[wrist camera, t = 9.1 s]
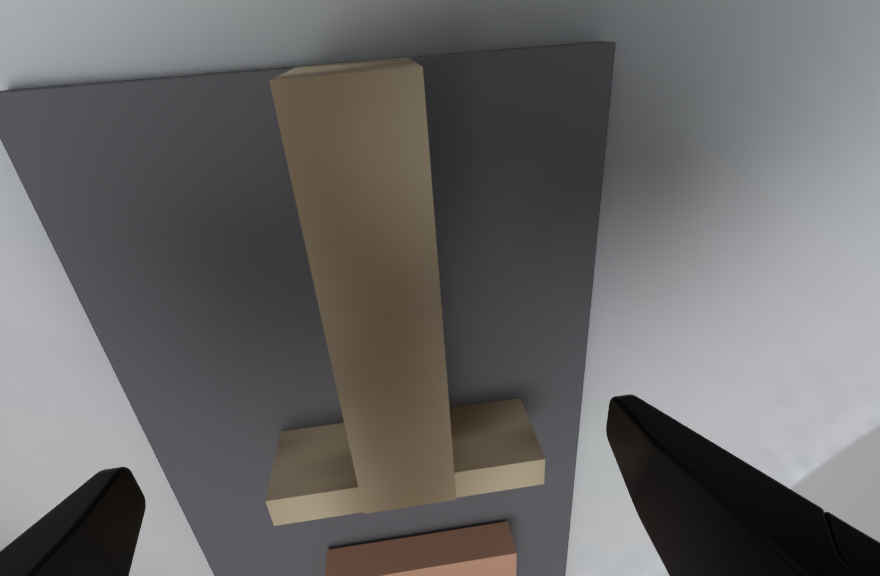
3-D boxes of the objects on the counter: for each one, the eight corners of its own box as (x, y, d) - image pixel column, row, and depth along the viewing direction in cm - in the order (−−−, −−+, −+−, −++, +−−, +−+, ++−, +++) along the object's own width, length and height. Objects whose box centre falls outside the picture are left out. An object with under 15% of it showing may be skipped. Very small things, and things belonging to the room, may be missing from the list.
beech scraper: (525, 47, 13) (584, 53, 9) (520, 421, 19) (553, 509, 15) (172, 76, 12) (90, 95, 8) (288, 454, 18) (268, 555, 15)
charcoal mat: (599, 41, 14) (615, 41, 13) (555, 589, 27) (562, 608, 26) (6, 90, 13) (-22, 94, 12) (260, 640, 25) (256, 661, 24)
